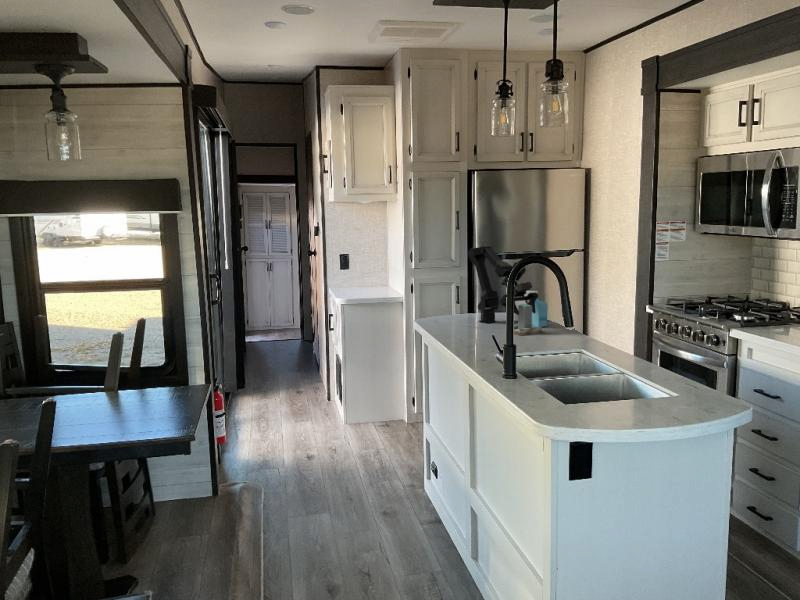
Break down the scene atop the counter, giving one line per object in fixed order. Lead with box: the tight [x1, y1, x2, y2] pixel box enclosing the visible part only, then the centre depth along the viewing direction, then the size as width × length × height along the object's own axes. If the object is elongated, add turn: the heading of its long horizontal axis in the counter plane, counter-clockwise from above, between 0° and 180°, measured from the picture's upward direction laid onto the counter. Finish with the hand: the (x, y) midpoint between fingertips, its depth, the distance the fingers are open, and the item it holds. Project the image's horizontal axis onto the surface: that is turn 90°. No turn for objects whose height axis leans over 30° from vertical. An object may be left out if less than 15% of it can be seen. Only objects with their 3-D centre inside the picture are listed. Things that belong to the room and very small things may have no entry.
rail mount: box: [513, 324, 544, 336], centre depth 307 cm, size 13×10×3 cm
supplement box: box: [514, 290, 539, 322], centre depth 337 cm, size 9×9×15 cm
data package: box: [532, 299, 548, 328], centre depth 324 cm, size 12×4×12 cm, turn 15°
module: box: [517, 304, 533, 329], centre depth 306 cm, size 4×5×11 cm
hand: (526, 313), depth 305 cm, fingers open, 9 cm apart
